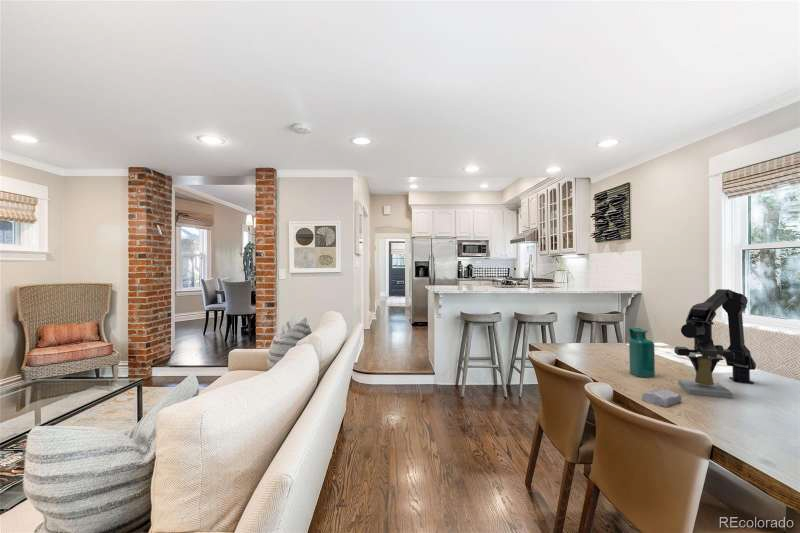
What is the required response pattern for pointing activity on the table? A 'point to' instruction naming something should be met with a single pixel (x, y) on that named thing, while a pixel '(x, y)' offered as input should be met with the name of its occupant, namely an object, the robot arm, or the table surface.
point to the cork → (704, 371)
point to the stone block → (661, 397)
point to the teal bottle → (641, 354)
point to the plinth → (705, 389)
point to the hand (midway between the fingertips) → (703, 373)
